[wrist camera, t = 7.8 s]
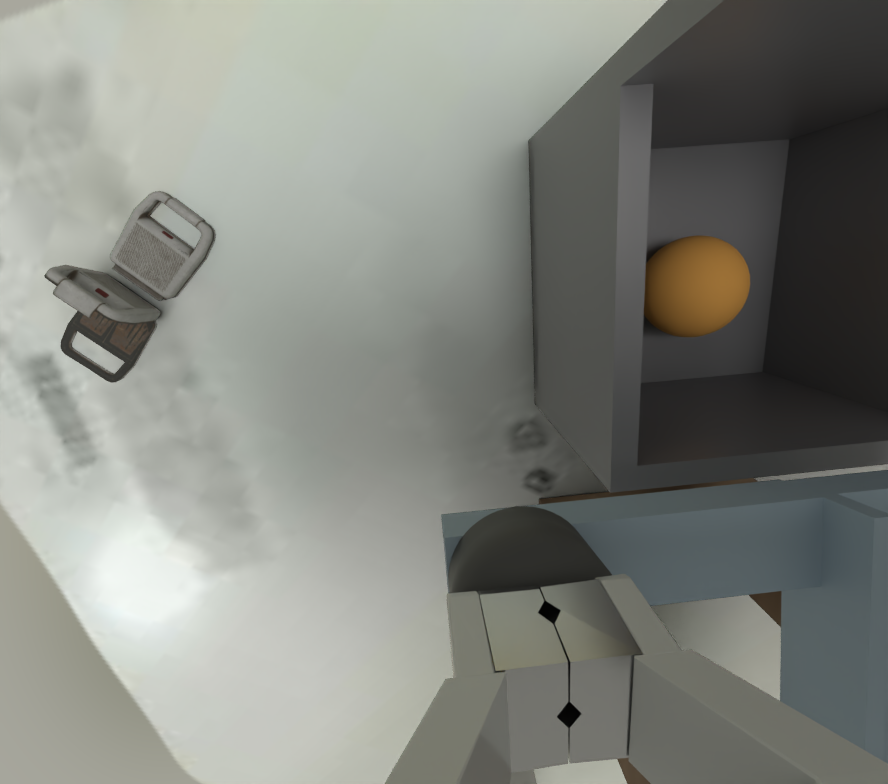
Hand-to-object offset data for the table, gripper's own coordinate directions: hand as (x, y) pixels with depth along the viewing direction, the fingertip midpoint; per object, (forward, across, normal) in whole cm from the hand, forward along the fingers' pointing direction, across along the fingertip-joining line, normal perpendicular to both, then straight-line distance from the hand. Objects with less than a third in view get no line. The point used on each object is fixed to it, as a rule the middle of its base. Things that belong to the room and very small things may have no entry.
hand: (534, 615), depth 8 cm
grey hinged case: (+16, +13, -5) cm, 21 cm away
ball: (+12, -10, -4) cm, 16 cm away
